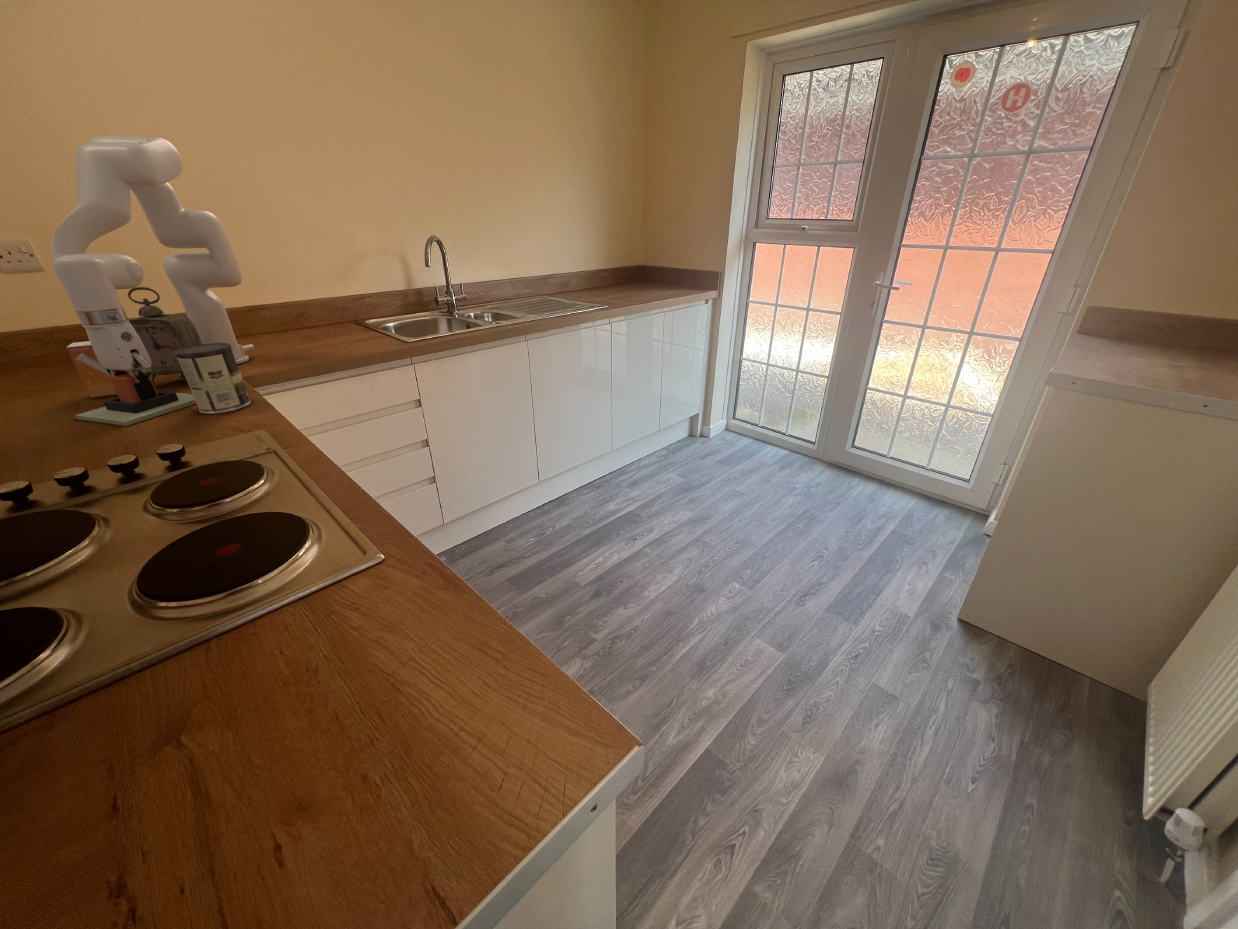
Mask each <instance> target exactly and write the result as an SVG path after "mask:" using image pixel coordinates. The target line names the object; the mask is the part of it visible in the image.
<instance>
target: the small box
mask: <svg viewBox="0 0 1238 929" xmlns="http://www.w3.org/2000/svg"><path fill="white" fill-rule="evenodd" d="M66 349H67V350H66V351H68V354H69V355H70V358H71V360H72V362H73V364H74V366H75V369H76V370H77V372H78V374H79V376H80V378H81V381H82V383H83V384H84V387H85V388H86V390H87V392H88V394H89V397H90V398H91V399H93V398H101V397H107V396H118V394H117V392H116V390H115V387H114V385H113V383H112V381H111V379H110V377H111V375H110V374H109V373H108V372H107V370H105V369H104V368H103V367H102V366H101V365H100V362H99V361H98V359H97V357H96V355H95V353H94V350H93V348H92V346H91V343H90V341H89V340H87V341H79V342H72V343H70V344H68V345H67V346H66ZM120 371H121V370H120ZM121 372H122V371H121Z"/></svg>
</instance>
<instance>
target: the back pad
mask: <svg viewBox="0 0 1238 929" xmlns="http://www.w3.org/2000/svg"><path fill="white" fill-rule="evenodd" d="M157 392H158V394H159V396H157V397H154V398H150V399H147V400H143V401H140V402H137V403H128V402H121V400H120V398H119V397H115V398H111V399H108V400H105V401H103V402H102V404H104V406H102V407H98V408H95V409H91V410H88V411H85V412H81V413H77V414H74V417H75V419H76V420H80V421H87V422H94V423H95V422H96V423H100V424H101V423H102V424H108V425H115V426H123V427H128V426H131V425H135V424H138V423H141V422H143V421H147V420H150V419H153V418H156V417H158V416H161V415H165V414H169V413H171V412H175V411H178V410H180V409H183V408H187V407H190V406H194V405H197V403H196V401H195V399H194V396H193V394H191V393H182V392H174V391H165V390H157Z"/></svg>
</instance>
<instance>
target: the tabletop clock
mask: <svg viewBox="0 0 1238 929" xmlns="http://www.w3.org/2000/svg"><path fill="white" fill-rule="evenodd" d="M135 291H149V292H152V293H153V294H155V295H156V296H157V298H156V299H155V300H151V301H149V299H148V298H146V297H145V298H142V301H139V300H136V299H133V298H132V294H133V293H134V292H135ZM127 297H128V298H129V300H130V301H131V302H133V303H135V304H138V305H143V306H141V307H140V308H139V309H138V317H134V318H130V319H128V320H129V323H130V324H131V325H132V326H133V328H134V329H135V331H136V332H137V334H138V336H139V337H140V339H141V341H142V343H143V345H144V347H145V349H146V351H147V353H148V355H149V357H150V359H151V362H152V365H151V367H152V370H151V372H150V376H151V378H152V381H153V383H154V385H155V386H156V382H155V379H156V377H157V376H169V375H176V374H179V375H180V376H179V378H180V380H181V381H184V382H185V381H186V382H187V380H186V377H185V375H184V373H183V370H182V368H181V365H180V363H179V361H178V358H177V356H176V355H175V353H174V352H175V351H176V350H178V349H181V348H184V347H189V346H194V345H201V344H202V343H201V340H200V337H199V335H198V333H197V330H196V328H195V326H194V325H193V323H192V322H191V321H190V319H189V318H188V317H187V316H185V315H182V314H171V313H170V314H168V313H166V314H165V312H164V311H163V309H161V308H160V307H158V306H156V305H154V304H156V303H158V302H159V301H160V300H161V296H160V294H159V293H158V292H157V291H156V290H155V289H153V288H150V287H146V286H137V287H135V288H131V289H129V290H128V292H127ZM133 367H134V368H133V369H135V368H138V366H133ZM136 372H140V371H136Z"/></svg>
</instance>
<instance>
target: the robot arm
mask: <svg viewBox="0 0 1238 929" xmlns="http://www.w3.org/2000/svg"><path fill="white" fill-rule="evenodd" d="M75 154H76V155H75V161H76V164H75V165H76V188H77V190H76V194H77V195H76V196H77V204H76V206H75V207H74V208H73V209H71V210H70V212H68V213H67V214H66V215H65V216H64V217H63V219H62V220H61V221H60V223H59V224H58V225H57V226H56V228H54V231H53V233H52V236H51V241H50V247H51V248H50V250H51V263H52V264H51V265H52V268H53V271H54V274H55V276H56V278H57V279H58V280H59V281H60V282H61V284H62V287H63V288H64V290H65V292H66V294H67V297H68V299H69V301H70V303H71V305H72V307H73V309H74V311H75V313H76V315H77V317H78V319H79V322H80V324H81V326H82V327H83V328H84V329H85V331H86V335H87V338H88V341H90V343H91V346H92V348H93V350H94V353H95V355H96V357H97V359H98V361H99V362H100V365H101V366H102V367H103V368H104V369H105V370H107V372H108V373H109V374H110V375H111V377H114V376H118V375H122V374H127V373H129V374H130V376H131V377H132V379H133V380H134V382H135V383H134V384H133V385H134V387H135V389H136V391H137V393H138V396H139V398H140V400H147V399H150V398H154V397H156V396H157V395H156V392H155V390H154V388H153V386H152V383H151V381H150V380H151V378H152V376H151V375H150V372H151V370H152V367H151V365H152V362H151V359H150V357H149V355H148V353H147V351H146V349H145V347H144V345H143V343H142V341H141V339H140V337H139V336H138V334H137V332H136V331H135V329H134V328H133V326H132V325H131V324H130V323H129V320H130V319H129V318H128V316H127V313H126V311H125V309H124V307H123V304H122V302H121V300H120V297H119V295H118V292H117V291H116V290H131V289H132V288H136V287H140V285H141V284H142V283H143V282H144V278H145V274H144V270H143V267H142V266H141V264H140V262H138V261H137V260H135V259H134V258H133V257H131V256H129V255H126V254H123V253H118V252H117V253H114V252H113V253H110V252H109V253H108V252H107V253H98V252H97V253H96V252H95V253H86V250H87V249H88V247H89V246H90V245H91V244H92V243H93V242H94V241H96V240H97V239H99V238H100V237H102V236H105V235H107V234H109V233H111V232H114V231H116V230H118V229H120V228H122V227H124V226H126V225H128V224H129V223H130V221H131V220H132V208H131V191H132V193H133V194H134V196H135V197H136V199H137V201H138V203H139V205H140V207H141V209H142V211H143V213H144V216H145V217H146V219H147V221H148V224H149V226H150V228H151V230H152V232H153V234H154V236H155V238H156V239H157V240H158V242H159V243H160V244H161V245H163V247H166V248H169V249H206V250H207V251H208V252H176V253H173V254H170V255H167V257H165V259H164V261H163V270H164V272H165V274H166V277H167V278H168V280H169V281H170V283H171V285H172V287H174V289H175V292H176V293H177V295H178V298H179V299H180V301H181V304H182V307H183V309H184V312H185V314H186V317H187V318H189V319H190V321H191V322H192V323H193V325H194V326H195V328H196V330H197V333H198V335H199V337H200V340H201V343H202V344H209V343H228V344H230V345H231V349H232V352H233V355H234V358H235V360H236V363H237V365H240V364H244V363H246V362H248V361H249V360H250V357H249V355H248V354H246V353H247V352H251V351H254V350H255V346H254V344H252V343H250V344H246V345H242V344H239V343H238V341H237V337H236V335H235V333H234V329H233V327H232V323H231V321H230V318H229V315H228V312H227V310H226V306H225V304H224V302H223V301H222V298H220V297H219V296H218V295H217V294H216V293H215V292H213V291H212V290H211V289H216V288H221V289H222V288H234V287H238V286H239V285H241V283H242V282H243V274H242V271H241V270H242V269H241V267H240V264H239V262H238V259H237V256H236V254H235V251H234V249H233V247H232V244H231V242H230V239H229V236H228V234H227V232H226V230H225V228H224V225H223V223H222V222H221V220H220V219H219V218H218V217H217V216H216V215H215V214H214V213H212V212H210V211H207V210H202V209H190V210H189V209H188V210H187V209H185V208H184V206H182V203H181V201H180V198H179V196H178V195H177V192H176V190H175V188H173V186H172V185H171V184H170V183H169V182H170V181H173V180H175V179H177V178H178V177H179V176H180V175H181V174H182V171H183V167H184V164H183V159H182V156H181V154H180V152H179V150H178V149H177V147H176V146H174V145H173V143H172V142H170V141H169V140H167V139H165V138H164V137H163V138H162V137H158V136H126V135H109V136H108V135H107V136H106V135H105V136H98V137H93V138H92V139H90V140H89V142H88V143H86V144H83V145H81V146H80V147H78V149H77V151H76V153H75ZM133 366H138V368H135V369H134V367H133ZM120 370H121V371H122V372H121V371H120ZM137 371H140V372H138V375H136V373H135V372H137ZM150 376H151V377H150Z"/></svg>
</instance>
